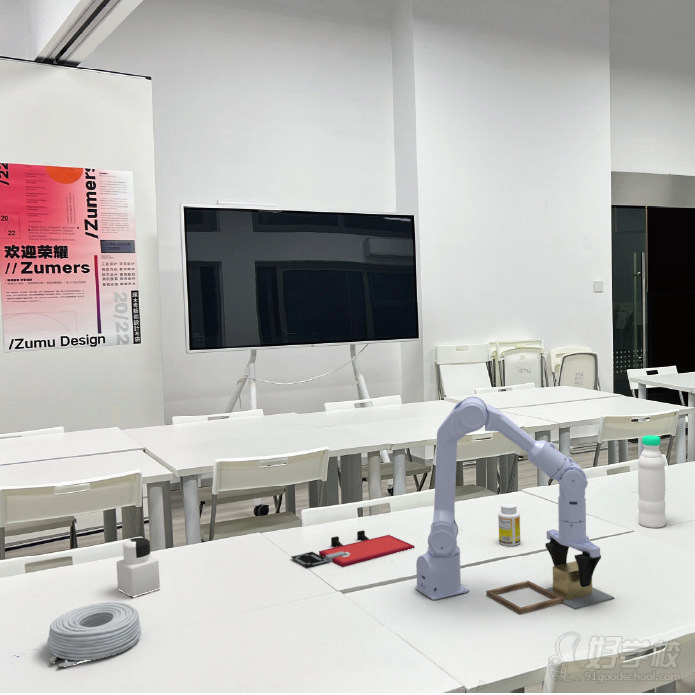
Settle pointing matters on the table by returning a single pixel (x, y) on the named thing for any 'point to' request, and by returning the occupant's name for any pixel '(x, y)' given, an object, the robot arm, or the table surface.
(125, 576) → the medicine bottle
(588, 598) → the mat
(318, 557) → the red board with handle
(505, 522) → the supplement bottle
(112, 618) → the cable
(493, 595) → the wooden frame
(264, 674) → the table surface
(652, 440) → the water bottle
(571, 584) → the tan box
